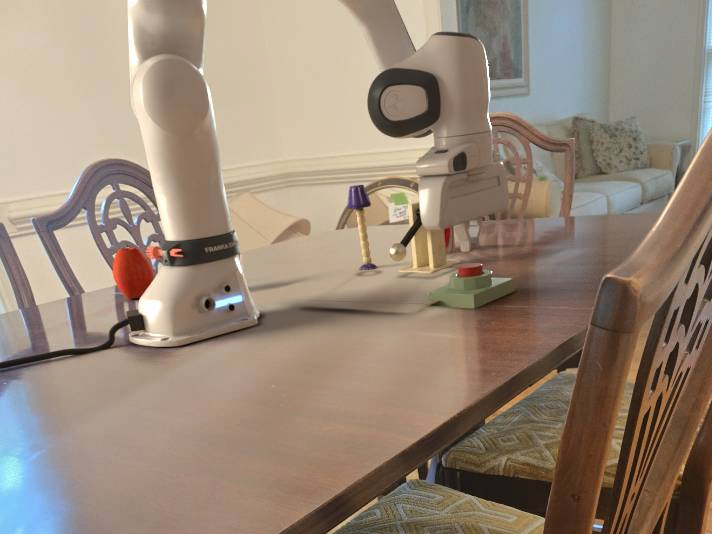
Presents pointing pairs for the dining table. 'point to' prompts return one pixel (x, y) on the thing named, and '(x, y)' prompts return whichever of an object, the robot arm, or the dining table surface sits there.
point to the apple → (132, 272)
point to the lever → (405, 240)
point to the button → (470, 270)
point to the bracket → (427, 247)
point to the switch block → (471, 290)
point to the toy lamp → (361, 221)
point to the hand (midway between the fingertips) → (470, 250)
